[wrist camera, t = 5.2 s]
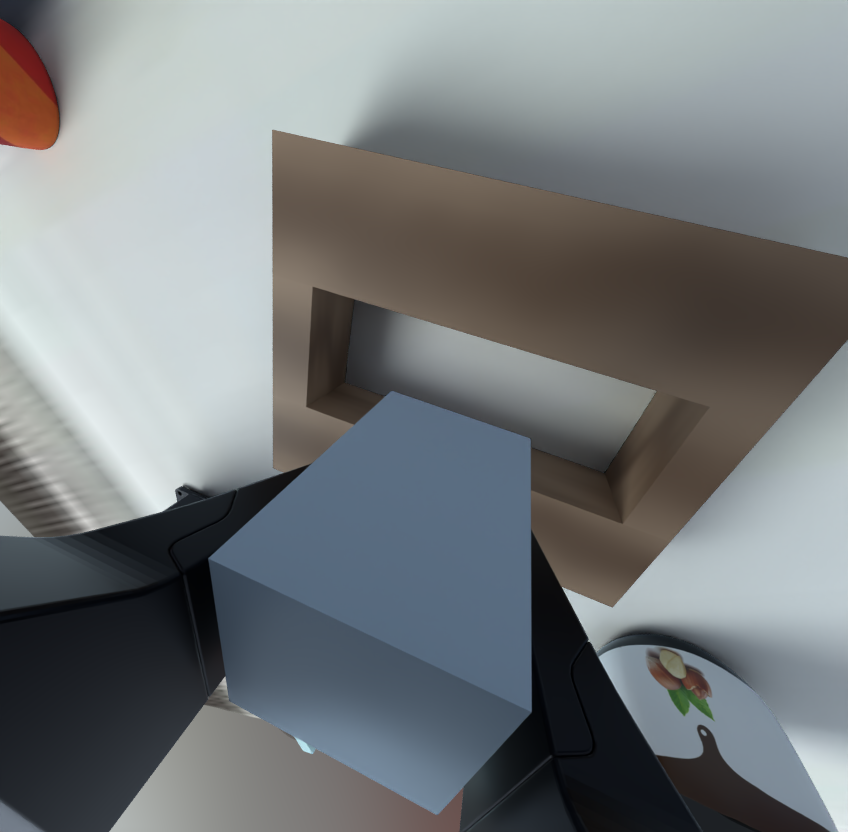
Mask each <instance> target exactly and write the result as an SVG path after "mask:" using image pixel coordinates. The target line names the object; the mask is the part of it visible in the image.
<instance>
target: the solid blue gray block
mask: <svg viewBox="0 0 848 832" xmlns="http://www.w3.org/2000/svg"><path fill="white" fill-rule="evenodd" d="M208 560H209V567H210V574H211V580H212V587H213V594H214V601H215V607H216V614H217V621H218V628H219V635H220V641H221V648H222V655H223V662H224V669H225V675H226V682H227V689H228V696H229V701H230V702H232V703H234V704H236V705H238V706H239V707H241V708H243V709H245V710H247V711H249V712H250V713H252V714H254V715H256V716H258V717H259V718H261V719H263V720H265V721H267V722H269V723H271V724H272V725H274V726H276V727H278V728H280V729H281V730H283V731H285V732H287V733H289V734H290V735H292V736H294V737H296V738H298V739H300V740H301V741H303V742H305V743H307V744H309V745H310V746H312V747H314V748H316V749H318V750H320V751H321V752H323V753H325V754H327V755H329V756H330V757H332V758H335V759H336V760H338V761H340V762H341V763H343V764H345V765H347V766H349V767H350V768H352V769H354V770H356V771H358V772H360V773H361V774H363V775H365V776H367V777H369V778H370V779H372V780H374V781H376V782H378V783H380V784H381V785H384V786H385V787H387V788H389V789H390V790H393V791H394V792H396V793H398V794H400V795H401V796H403V797H405V798H407V799H409V800H411V801H412V802H414V803H416V804H418V805H420V806H421V807H423V808H425V809H427V810H429V811H431V812H432V813H434V814H436V815H438V814H439V813H440V812H441V811H442V810H443V808H444V807H445V806H446V805H447V804H448V803H449V802H450V801H451V800H452V799H453V798H454V796H455V795H456V794H457V793H458V792H459V791H460V790H461V789H462V788H463V787H464V786H465V785H466V783H467V782H468V781H469V780H470V779H471V778H472V777H473V776H474V775H475V774H476V772H477V771H478V770H479V769H480V768H481V767H482V766H483V765H484V764H485V763H486V762H487V760H488V759H489V758H490V757H491V756H492V755H493V754H494V753H495V752H496V751H497V750H498V748H499V747H500V746H501V745H502V744H503V743H504V742H505V741H506V740H507V739H508V737H509V736H510V735H511V734H512V733H513V732H514V731H515V730H516V729H517V728H518V727H519V725H520V724H521V723H522V722H523V721H524V720H525V719H526V718H527V717H528V716H529V715H530V713H531V712H532V680H531V439H530V438H528V437H525V436H522V435H519V434H516V433H513V432H510V431H507V430H504V429H501V428H499V427H496V426H493V425H490V424H487V423H484V422H481V421H478V420H475V419H472V418H470V417H467V416H464V415H461V414H458V413H455V412H452V411H449V410H446V409H443V408H441V407H438V406H435V405H432V404H429V403H426V402H423V401H420V400H417V399H414V398H412V397H409V396H406V395H403V394H400V393H397V392H394V391H391V392H390V393H389V394H387V395H386V396H385V397H384V398H383V399H382V400H381V401H380V402H379V403H378V404H377V405H375V406H374V407H373V408H372V409H371V410H370V411H369V412H368V413H367V414H366V415H365V416H363V417H362V418H361V419H360V420H359V421H358V422H357V423H356V424H355V425H354V426H353V427H351V428H350V429H349V430H348V431H347V432H346V433H345V434H344V435H343V436H342V437H340V438H339V439H338V440H337V441H336V442H335V443H334V444H333V445H332V446H331V447H330V448H328V449H327V450H326V451H325V452H324V453H323V454H322V455H321V456H320V457H319V458H318V459H316V460H315V461H314V462H313V463H312V464H311V465H310V466H309V467H308V468H307V469H306V470H304V471H303V472H302V473H301V474H300V475H299V476H298V477H297V478H296V479H295V480H293V481H292V482H291V483H290V484H289V485H288V486H287V487H286V488H285V489H284V490H283V491H281V492H280V493H279V494H278V495H277V496H276V497H275V498H274V499H273V500H272V501H271V502H269V503H268V504H267V505H266V506H265V507H264V508H263V509H262V510H261V511H260V512H259V513H257V514H256V515H255V516H254V517H253V518H252V519H251V520H250V521H249V522H248V523H247V524H245V525H244V526H243V527H242V528H241V529H240V530H239V531H238V532H237V533H236V534H234V535H233V536H232V537H231V538H230V539H229V540H228V541H227V542H226V543H225V544H224V545H222V546H221V547H220V548H219V549H218V550H217V551H216V552H215V553H214V554H213V555H212V556H210V557H209V558H208Z"/></svg>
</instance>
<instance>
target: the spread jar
mask: <svg viewBox="0 0 848 832" xmlns="http://www.w3.org/2000/svg"><path fill="white" fill-rule="evenodd" d="M597 655H598V657H599V659H600V661H601V663H602V665H603V666H604V668H605V670H606V672H607V674H608V676H609V677H610V679H611V681H612V683H613V685H614V687H615V688H616V690H617V692H618V694H619V695H620V697H621V699H622V700H623V702H624V704H625V705H626V707H627V709H628V710H629V712H630V714H631V716H632V717H633V719H634V721H635V722H636V724H637V726H638V727H639V729H640V731H641V732H642V734H643V735H644V737H645V739H646V740H647V742H648V744H649V745H650V747H651V748H652V750H653V752H654V753H655V755H656V757H657V758H658V760H659V761H660V763H661V765H662V766H663V768H664V770H665V771H666V773H667V774H668V776H669V778H670V779H671V781H672V783H673V784H674V786H675V787H676V789H677V791H678V792H679V794H680V796H681V797H682V799H683V800H684V802H685V804H686V805H687V807H688V809H689V810H690V812H691V813H692V815H693V817H694V818H695V820H696V822H697V823H698V825H699V826H700V828H701V830H702V831H703V832H838V830H837V828H836V826H835V824H834V822H833V820H832V818H831V816H830V814H829V812H828V810H827V808H826V806H825V804H824V802H823V800H822V798H821V797H820V795H819V793H818V791H817V789H816V787H815V786H814V784H813V782H812V780H811V778H810V776H809V775H808V773H807V771H806V769H805V767H804V765H803V763H802V762H801V760H800V758H799V756H798V754H797V752H796V751H795V749H794V747H793V745H792V744H791V742H790V740H789V738H788V737H787V735H786V733H785V732H784V730H783V728H782V727H781V725H780V724H779V722H778V720H777V719H776V717H775V716H774V714H773V713H772V711H771V710H770V709H769V707H768V706H767V705H766V704H765V702H764V701H763V700H762V698H761V697H760V696H759V695H758V694H757V693H756V692H755V691H754V690H753V689H752V688H751V687H750V686H749V685H748V684H747V683H746V682H745V681H744V680H743V679H741V678H740V677H739V676H738V675H737V674H736V673H734V672H733V671H732V670H731V669H729V668H728V667H727V666H726V665H724V664H723V663H722V662H720V661H719V660H718V659H716V658H715V657H713V656H712V655H710V654H708V653H707V652H705V651H704V650H702V649H700V648H698V647H696V646H694V645H692V644H690V643H688V642H685V641H682V640H679V639H676V638H673V637H669V636H664V635H657V634H634V635H628V636H624V637H620V638H618V639H616V640H613V641H611V642H609V643H608V644H606V645H605V646H604V647H602V648H601V649H600V650H599V651H598V652H597Z"/></svg>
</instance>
